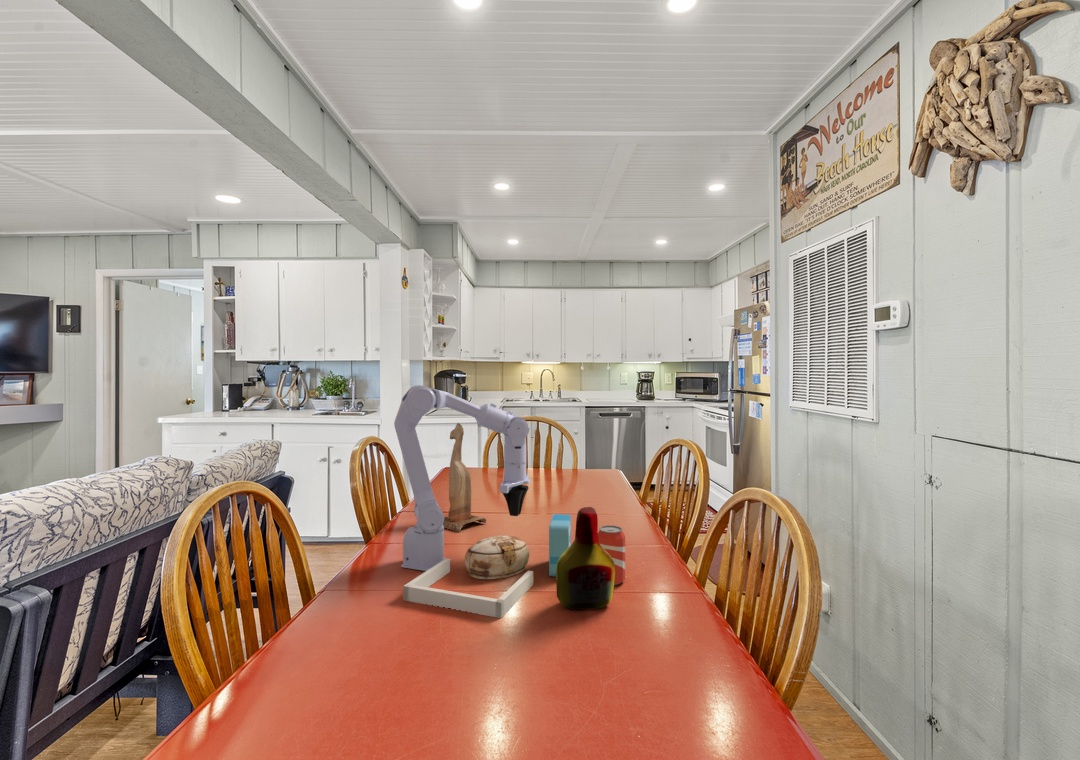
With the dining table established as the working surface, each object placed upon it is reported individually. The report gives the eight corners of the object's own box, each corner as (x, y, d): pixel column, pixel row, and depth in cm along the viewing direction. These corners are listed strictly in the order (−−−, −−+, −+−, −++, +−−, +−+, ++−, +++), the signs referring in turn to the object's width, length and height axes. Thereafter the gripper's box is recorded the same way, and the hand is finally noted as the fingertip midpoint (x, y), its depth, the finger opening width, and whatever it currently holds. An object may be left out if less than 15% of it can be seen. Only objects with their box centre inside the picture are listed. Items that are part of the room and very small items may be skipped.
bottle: (612, 599, 109) (612, 503, 108) (617, 613, 102) (617, 512, 102) (555, 599, 109) (555, 504, 108) (556, 613, 102) (556, 512, 102)
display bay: (403, 600, 108) (403, 585, 108) (445, 571, 124) (445, 558, 124) (501, 618, 100) (501, 602, 100) (533, 584, 116) (533, 571, 116)
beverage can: (627, 578, 119) (627, 526, 119) (619, 589, 114) (619, 534, 113) (602, 574, 122) (602, 523, 122) (593, 584, 116) (593, 530, 116)
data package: (568, 579, 119) (568, 527, 119) (549, 578, 119) (548, 526, 119) (571, 560, 131) (570, 512, 131) (553, 559, 131) (553, 512, 131)
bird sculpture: (460, 519, 169) (457, 420, 168) (487, 524, 162) (484, 421, 162) (434, 527, 160) (431, 423, 159) (462, 533, 153) (458, 424, 153)
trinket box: (457, 577, 120) (457, 544, 120) (487, 556, 134) (487, 526, 134) (509, 586, 115) (509, 551, 115) (535, 563, 129) (535, 532, 129)
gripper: (518, 468, 126) (518, 524, 126) (539, 458, 140) (539, 509, 140) (492, 466, 129) (492, 521, 129) (515, 457, 142) (515, 506, 142)
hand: (515, 514), depth 135 cm, fingers closed
